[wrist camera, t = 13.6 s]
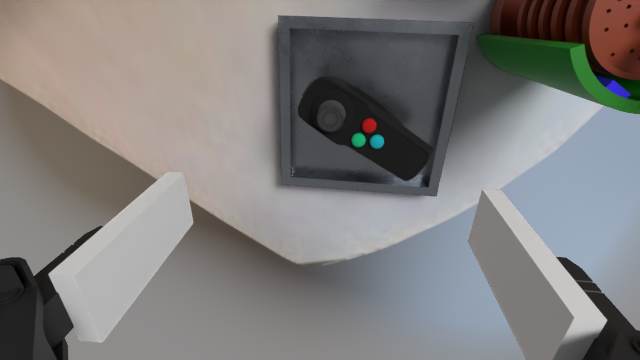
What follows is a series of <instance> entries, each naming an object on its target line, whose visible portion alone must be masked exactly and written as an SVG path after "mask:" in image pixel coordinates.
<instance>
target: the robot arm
mask: <svg viewBox="0 0 640 360" xmlns="http://www.w3.org/2000/svg"><path fill="white" fill-rule="evenodd" d="M192 224H193V218H192V213H191V207H190V202H189V197H188V192H187V186H186V181H185V176H184V172H167V173H165V174H164V175H163V176H162V177H161V178H160V179H158V180H157V181H156V182H155V183H154V184H153V185H152V186H150V187H149V188H148V189H147V190H146V191H145V192H143V193H142V194H141V195H140V196H139V197H137V198H136V199H135V200H134V201H133V202H132V203H130V204H129V205H128V206H127V207H126V208H125V209H124V210H122V211H121V212H120V213H119V214H118V215H117V216H115V217H114V218H113V219H112V220H111V221H110V222H108V223H107V224H106V225H105V226H99V227H97V228H96V229H94V230H92V231H90V232H88V233H86V234H84V235H83V236H82V237H81V238H80V239H78V240H77V241H76V242H75V243H74V245H71V246H70V247H69V248H68V249H66V250H65V252H64V253H61V254H60V255H59V256H58V257H57V258H55V259H54V260H53V261H52V262H51V263H49V264H48V265H47V266H46V267H45V268H43V269H42V270H41V271H40V272H39V273H37V274H36V275H35V276H33V274H32V272H31V270H30V268H29V266H28V264H27V262H26V260H25V259H22V258H20V257H16V258H14V257H12V258H6V259H1V260H0V360H68V345H67V342H66V340H65V338H64V337H65V336H66V335H67V334H68V333H69V332H70V331H71V330H72V328H74V330H75V332H76V334H77V336H78V339H79V341H89V342H100V343H103V341H104V340H105V339H106V337H107V336H108V335H109V333H110V332H111V331H112V329H113V328H114V327H115V325H116V324H117V323H118V321H119V320H120V319H121V318H122V316H123V315H124V314H125V312H126V311H127V310H128V308H129V307H130V306H131V304H132V303H133V302H134V300H135V299H136V298H137V297H138V295H139V294H140V292H141V291H142V290H143V289H144V287H145V286H146V285H147V283H148V282H149V281H150V279H151V278H152V277H153V275H154V274H155V273H156V272H157V270H158V269H159V268H160V266H161V265H162V263H163V262H164V261H165V260H166V258H167V257H168V256H169V255H170V253H171V252H172V251H173V249H174V248H175V247H176V245H177V244H178V243H179V241H180V240H181V239H182V237H183V236H184V235H185V233H186V232H187V231H188V230H189V228H190V227H191V225H192ZM468 243H469V245H470V246H471V249H472V251H473V253H474V255H475V257H476V259H477V261H478V263H479V265H480V267H481V269H482V271H483V273H484V275H485V277H486V279H487V281H488V283H489V285H490V287H491V289H492V291H493V293H494V295H495V297H496V299H497V301H498V303H499V305H500V307H501V309H502V311H503V314H504V315H505V318H506V319H507V322H508V324H509V326H510V328H511V329H512V331H513V334H514V336H515V338H516V340H517V342H518V344H519V346H520V348H521V350H522V352H523V354H524V356H525V358H526V360H640V331H638V330H636V329H635V328H634V327H633V326H632V325H631V324H630V323H629V322H628V321H627V319H626V318H625V317H624V316H623V315H622V314H621V313H620V311H619V310H618V309H617V308H616V307H615V306H614V305H613V304H612V302H611V301H610V300H609V299H608V298H607V297H606V296H605V294H603V293H601V290H600V289H599V288H598V286H597V285H596V284H595V283H592V280H591V279H590V278H589V277H588V275H587V274H586V273H585V272H584V271H583V270H582V269H581V268H580V267H579V266H577V265H576V264H574V263H573V262H571V261H570V260H568V259H567V258H563V257H555V256H554V255H553V253H552V252H551V251H550V250H549V248H548V247H547V246H546V245H545V244H544V242H543V241H542V240H541V239H540V237H539V236H538V235H537V234H536V232H535V231H534V230H533V229H532V228H531V226H530V225H529V224H528V223H527V221H526V220H525V219H524V218H523V217H522V216H521V214H520V213H519V212H518V211H517V210H516V208H515V207H514V206H513V205H512V203H511V202H510V201H509V199H507V197H506V196H505V195H504V193H503V192H502V191H501V190H487V189H482V192H481V196H480V199H479V203H478V207H477V211H476V214H475V218H474V221H473V225H472V229H471V233H470V236H469V240H468Z"/></svg>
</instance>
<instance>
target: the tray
mask: <svg viewBox="0 0 640 360" xmlns="http://www.w3.org/2000/svg"><path fill="white" fill-rule="evenodd" d="M278 21H279V71H280V121H281V172H282V185H295V186H308V187H321V188H334V189H347V190H360V191H373V192H386V193H399V194H412V195H425V196H437V191H438V187H439V182H440V177H441V173H442V168H443V164H444V159H445V154H446V150H447V145H448V140H449V136H450V131H451V126H452V122H453V117H454V113H455V108H456V103H457V99H458V94H459V89H460V85H461V80H462V76H463V71H464V66H465V62H466V57H467V52H468V48H469V43H470V38H471V34H472V29H473V25H474V23H468V22H441V21H414V20H387V19H361V18H334V17H307V16H279V15H278ZM322 76H332V77H336V78H339V79H342V80H344V81H346V82H348V83H350V84H352V85H354V86H356V87H357V88H359V89H360V90H362V91H364V92H365V93H367V94H368V95H370V96H371V97H372V98H374V99H375V100H376V101H378V102H379V103H380V104H382V105H383V106H384V107H385V108H386V109H388V110H389V111H390V112H391V113H392V114H393V115H394V116H395V117H396V118H397V119H398V120H399V121H400V122H401V123H402V124H403V125H404V127H406V128H407V129H408V130H410V131H411V132H412V133H414V134H415V135H417V136H418V137H419V138H421V139H422V140H423V141H425V142H426V143H427V144H429V145H430V146H432V148H433V154H432V156H431V158H430V160H429V162H428V163H427V164H426V166H425V167H424V168H423V169H422V170H421V171H420V172H419V174H418V175H417V176H416V177H414V178H413V179H411V180H409V181H403V180H402V179H400V178H399V177H397V176H395V175H394V174H392V173H390V172H389V171H387V170H385V169H384V168H382V167H380V166H379V165H377V164H376V163H374V162H372V161H371V160H369V159H367V158H366V157H364V156H362V155H361V154H359V153H357V152H356V151H354V150H353V149H351V148H349V147H347V146H345V145H337V144H336V143H334V142H332V141H331V140H329V139H328V138H327V137H325V136H324V135H322V134H321V133H320V132H318V131H317V130H315V129H314V128H313V127H311V126H310V125H308V124H307V123H306V122H305V121H303V120H302V119H301V118H300V117H299V115H298V106H299V103H300V101H301V99H302V97H303V96H302V94H303V93H304V91H305V89H306V88H307V86H308V84H309V83H310V81H311V80H313V79H317V78H319V77H322Z"/></svg>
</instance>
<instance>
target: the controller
mask: <svg viewBox="0 0 640 360" xmlns="http://www.w3.org/2000/svg"><path fill="white" fill-rule="evenodd" d="M302 96H303V97H302V99H301V101H300V103H299V106H298V115H299V117H300V118H301V119H302V120H303V121H305V122H306V123H307V124H308V125H310V126H311V127H313V128H314V129H315V130H317V131H318V132H320V133H321V134H322V135H324V136H325V137H327V138H328V139H329V140H331V141H332V142H334V143H336V144H337V145H345V146H347V147H349V148H351V149H353V150H354V151H356V152H357V153H359V154H361V155H362V156H364V157H366V158H367V159H369V160H371V161H372V162H374V163H376V164H377V165H379V166H380V167H382V168H384V169H385V170H387V171H389V172H390V173H392V174H394V175H395V176H397V177H399V178H400V179H402V180H403V181H409V180H411V179H413V178H414V177H416V176H417V175H418V174H419V172H420V171H421V170H422V169H423V168H424V167H425V166H426V164H427V163H428V162H429V160H430V158H431V156H432V154H433V148H432V146H430V145H429V144H427V143H426V142H425V141H423V140H422V139H421V138H419V137H418V136H417V135H415V134H414V133H412V132H411V131H410V130H408V129H407V128H406V127H404V125H403V124H402V123H401V122H400V121H399V120H398V119H397V118H396V117H395V116H394V115H393V114H392V113H391V112H390V111H389V110H388V109H386V108H385V107H384V106H383V105H382V104H380V103H379V102H378V101H376V100H375V99H374V98H372V97H371V96H370V95H368V94H367V93H365V92H364V91H362V90H360V89H359V88H357V87H356V86H354V85H352V84H350V83H348V82H346V81H344V80H342V79H339V78H336V77H332V76H322V77H319V78H317V79H313V80H311V81H310V83H309V84H308V86H307V88H306V89H305V91H304V93H303V94H302Z"/></svg>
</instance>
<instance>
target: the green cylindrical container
mask: <svg viewBox="0 0 640 360" xmlns="http://www.w3.org/2000/svg"><path fill="white" fill-rule="evenodd" d="M490 28H491V34H492V35H490V34H483V35H480V36H477V40H478V43H479V46H480V48H481V51H482V52H483V54H484V55H485V57H486V58H487V59H488V60H489V61H490V62H491V63H492V64H493V65H495V66H496V67H498V68H499V69H501V70H504V71H507V72H509V73H512V74H515V75H518V76H521V77H524V78H527V79H530V80H532V81H535V82H538V83H541V84H544V85H547V86H550V87H553V88H556V89H558V90H561V91H564V92H567V93H570V94H573V95H576V96H579V97H581V98H584V99H587V100H590V101H593V102H596V103H599V104H602V105H604V106H607V107H610V108H614V109H616V110H619V111H623V112H627V113H634V114H640V0H496V2H495V5H494V7H493V10H492V14H491V22H490Z"/></svg>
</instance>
